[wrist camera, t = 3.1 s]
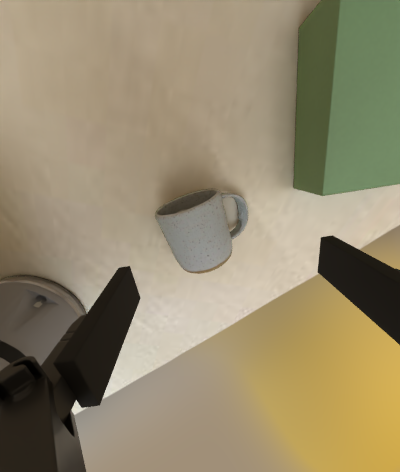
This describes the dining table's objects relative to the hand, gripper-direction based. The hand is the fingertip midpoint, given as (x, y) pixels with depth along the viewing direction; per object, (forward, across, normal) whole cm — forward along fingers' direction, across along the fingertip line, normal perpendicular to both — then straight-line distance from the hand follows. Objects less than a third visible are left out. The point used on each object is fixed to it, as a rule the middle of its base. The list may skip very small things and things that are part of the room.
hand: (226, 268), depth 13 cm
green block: (+14, +18, +10) cm, 25 cm away
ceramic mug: (+14, -1, 0) cm, 14 cm away
